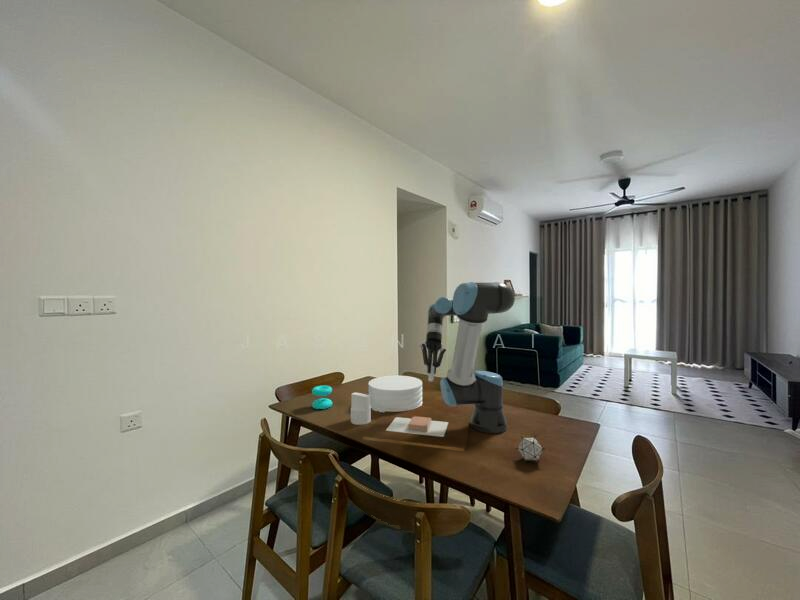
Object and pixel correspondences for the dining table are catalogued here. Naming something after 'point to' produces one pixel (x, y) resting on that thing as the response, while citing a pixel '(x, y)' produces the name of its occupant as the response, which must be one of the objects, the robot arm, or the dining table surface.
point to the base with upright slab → (360, 408)
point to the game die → (530, 449)
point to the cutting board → (402, 426)
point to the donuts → (322, 402)
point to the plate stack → (395, 393)
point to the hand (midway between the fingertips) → (430, 380)
